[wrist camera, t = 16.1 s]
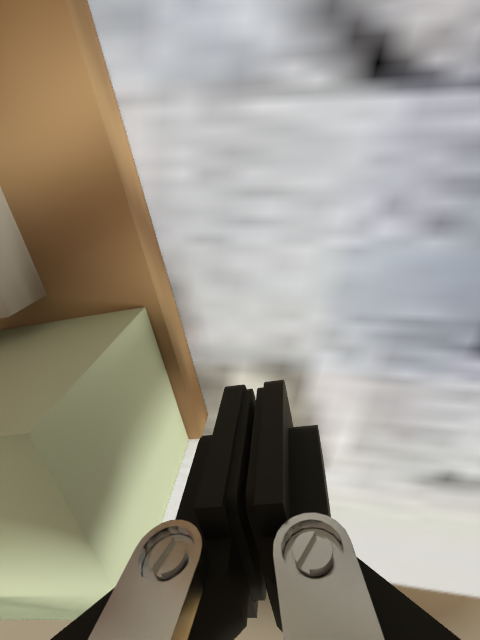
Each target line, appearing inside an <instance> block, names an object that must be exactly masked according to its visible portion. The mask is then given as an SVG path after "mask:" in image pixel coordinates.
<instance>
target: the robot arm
mask: <svg viewBox="0 0 480 640" xmlns="http://www.w3.org/2000/svg"><path fill="white" fill-rule="evenodd" d="M266 589H267V593H268V596H269V599H270V603H271V606H272V610H273V613H274V617H275V620H276V624H277V626H278V628H279V629H280V630H281V631H282V632H283V637H284V640H460V639H459V638H458V637H457V636H456V635H454V634H453V633H452V632H451V631H449V630H448V629H447V628H445V627H444V626H443V625H442V624H440V623H439V622H438V621H437V620H435V619H434V618H433V617H432V616H430V615H429V614H428V613H427V612H425V611H424V610H423V609H422V608H420V607H419V606H418V605H416V604H415V603H414V602H413V601H411V600H410V599H409V598H408V597H406V596H405V595H404V594H403V593H401V592H400V591H399V590H398V589H396V588H395V587H394V586H393V585H391V584H390V583H389V582H388V581H386V580H385V579H384V578H383V577H381V576H380V575H379V574H377V573H376V572H375V571H374V570H372V569H371V568H370V567H369V566H367V565H366V564H365V563H364V562H362V561H361V560H360V559H359V558H357V557H356V554H355V551H354V548H353V545H352V542H351V540H350V538H349V536H348V534H347V532H346V530H345V529H344V528H343V527H342V526H341V525H340V524H339V523H338V522H337V521H336V520H334V519H332V518H331V514H330V506H329V499H328V491H327V484H326V476H325V469H324V462H323V455H322V449H321V443H320V436H319V430H318V425H312V426H302V427H293V423H292V417H291V412H290V407H289V402H288V397H287V391H286V386H285V382H284V380H278V381H270V382H264V387H263V388H258V389H257V396H256V400H255V395H254V392H253V389H246V386H245V385H236V386H228V387H225V389H224V392H223V396H222V400H221V404H220V408H219V412H218V416H217V420H216V424H215V428H214V432H213V435H207V436H202V437H201V438H200V440H199V442H198V446H197V449H196V452H195V456H194V459H193V463H192V466H191V469H190V473H189V476H188V479H187V483H186V486H185V489H184V493H183V496H182V499H181V503H180V506H179V509H178V513H177V516H176V520H170V521H167V522H164V523H161V524H159V525H158V526H156V527H154V528H153V529H151V530H150V531H149V532H148V533H147V534H146V535H145V536H144V537H143V538H142V539H141V540H140V542H139V543H138V545H137V546H136V548H135V550H134V552H133V554H132V555H131V557H130V559H129V561H128V563H127V565H126V567H125V569H124V571H123V573H122V575H121V577H120V579H119V581H118V582H117V584H116V586H115V587H114V588H113V589H112V590H111V591H109V592H108V593H107V594H106V595H105V596H103V597H102V598H101V599H100V600H98V601H97V602H96V603H95V604H93V605H92V606H91V607H90V608H89V609H87V610H86V611H85V612H84V613H82V614H81V615H80V616H79V617H78V618H76V619H75V620H74V621H73V622H71V623H70V624H69V625H68V626H67V627H65V628H64V629H63V630H62V631H60V632H59V633H58V634H57V635H55V636H54V637H53V638H52V639H51V640H237V639H236V637H237V636H238V635H239V634H240V633H241V631H242V630H243V629H244V628H245V627H246V626H247V618H257V607H258V600H265V598H266Z"/></svg>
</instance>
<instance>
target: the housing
mask: <svg viewBox="0 0 480 640" xmlns="http://www.w3.org/2000/svg"><path fill="white" fill-rule="evenodd" d="M188 443H189V439H188V436H187V433H186V430H185V427H184V424H183V421H182V418H181V415H180V412H179V409H178V406H177V402H176V399H175V396H174V393H173V390H172V387H171V384H170V381H169V378H168V375H167V372H166V369H165V366H164V363H163V360H162V357H161V354H160V351H159V347H158V344H157V341H156V338H155V335H154V332H153V329H152V326H151V323H150V320H149V317H148V314H147V311H146V308H145V307H141V308H135V309H129V310H122V311H116V312H110V313H104V314H97V315H91V316H85V317H79V318H72V319H66V320H60V321H54V322H47V323H41V324H35V325H28V326H22V327H16V328H10V329H3V330H0V620H75V619H76V618H78V617H79V616H80V615H81V614H82V613H84V612H85V611H86V610H87V609H89V608H90V607H91V606H92V605H93V604H95V603H96V602H97V601H98V600H100V599H101V598H102V597H103V596H105V595H106V594H107V593H108V592H109V591H111V590H112V589H113V588H114V587H115V586H116V584H117V582H118V581H119V579H120V577H121V575H122V573H123V571H124V569H125V567H126V565H127V563H128V561H129V559H130V557H131V555H132V554H133V552H134V550H135V548H136V546H137V545H138V543H139V542H140V540H141V539H142V538H143V537H144V536H145V535H146V534H147V533H148V532H149V531H150V530H151V529H153V528H154V527H156V526H158V525H159V524H161V523H162V521H163V518H164V515H165V512H166V509H167V506H168V503H169V500H170V497H171V494H172V491H173V488H174V485H175V482H176V479H177V476H178V473H179V470H180V467H181V464H182V461H183V458H184V455H185V452H186V449H187V446H188Z"/></svg>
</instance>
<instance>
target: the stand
mask: <svg viewBox="0 0 480 640" xmlns="http://www.w3.org/2000/svg"><path fill="white" fill-rule="evenodd" d="M141 307H145V308H146V311H147V314H148V317H149V320H150V323H151V326H152V329H153V332H154V335H155V338H156V341H157V344H158V347H159V351H160V354H161V357H162V360H163V363H164V366H165V369H166V372H167V375H168V378H169V381H170V384H171V387H172V390H173V393H174V396H175V399H176V402H177V406H178V409H179V412H180V415H181V418H182V421H183V424H184V427H185V430H186V433H187V436H188V439H197V438H201V437H202V434H203V430H204V427H205V423H206V420H207V417H208V413H207V409H206V406H205V403H204V399H203V396H202V392H201V389H200V385H199V382H198V379H197V375H196V372H195V368H194V365H193V361H192V358H191V355H190V351H189V348H188V344H187V341H186V337H185V334H184V331H183V327H182V324H181V320H180V317H179V313H178V310H177V307H176V303H175V300H174V296H173V293H172V289H171V286H170V282H169V279H168V276H167V272H166V269H165V265H164V262H163V258H162V255H161V252H160V248H159V245H158V241H157V238H156V234H155V231H154V228H153V224H152V221H151V217H150V214H149V210H148V207H147V204H146V200H145V197H144V193H143V190H142V186H141V183H140V180H139V176H138V173H137V169H136V166H135V162H134V159H133V156H132V152H131V149H130V145H129V142H128V138H127V135H126V132H125V128H124V125H123V121H122V118H121V114H120V111H119V108H118V104H117V101H116V97H115V94H114V90H113V87H112V84H111V80H110V77H109V73H108V70H107V66H106V63H105V60H104V56H103V53H102V49H101V46H100V42H99V39H98V36H97V32H96V29H95V25H94V22H93V18H92V15H91V12H90V8H89V5H88V1H87V0H0V330H3V329H10V328H16V327H22V326H28V325H35V324H41V323H47V322H54V321H60V320H66V319H72V318H79V317H85V316H91V315H97V314H104V313H110V312H116V311H122V310H129V309H135V308H141Z"/></svg>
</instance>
